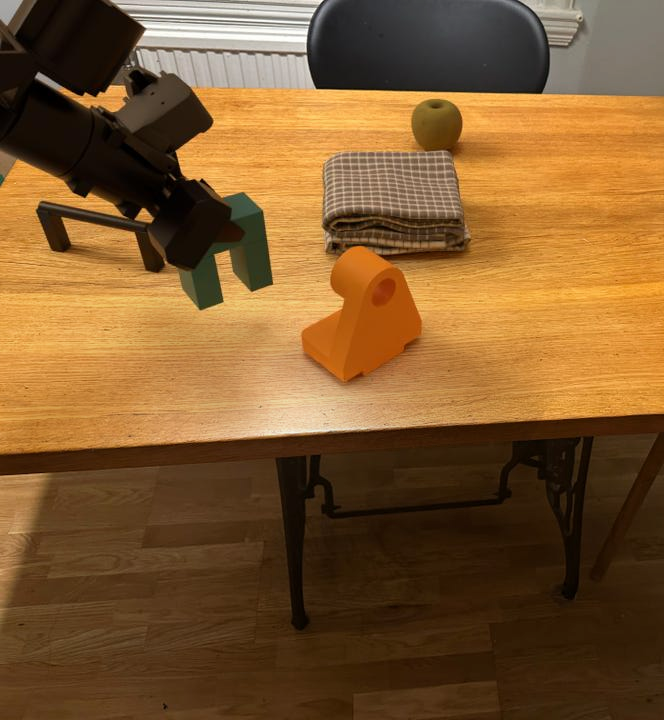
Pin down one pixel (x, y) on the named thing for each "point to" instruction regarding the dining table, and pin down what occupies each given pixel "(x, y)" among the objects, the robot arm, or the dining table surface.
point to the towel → (392, 203)
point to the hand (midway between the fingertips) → (231, 225)
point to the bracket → (364, 316)
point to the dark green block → (233, 257)
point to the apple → (436, 124)
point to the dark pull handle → (59, 237)
